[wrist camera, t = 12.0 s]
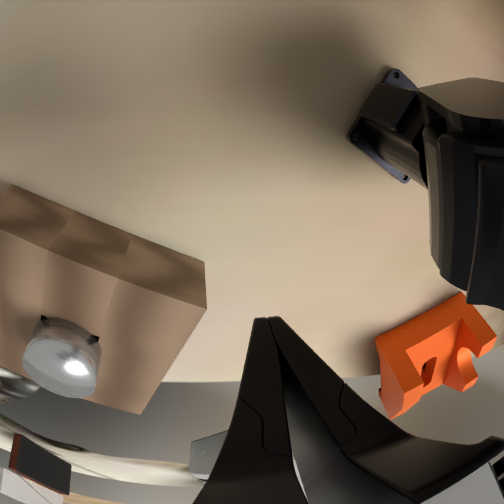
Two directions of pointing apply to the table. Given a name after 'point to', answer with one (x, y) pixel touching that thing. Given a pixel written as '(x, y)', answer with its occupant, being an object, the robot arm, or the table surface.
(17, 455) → the radio
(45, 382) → the steel peg
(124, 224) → the table surface
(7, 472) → the grey rectangular block
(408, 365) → the tape dispenser
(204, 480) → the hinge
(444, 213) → the robot arm
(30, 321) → the walnut block
